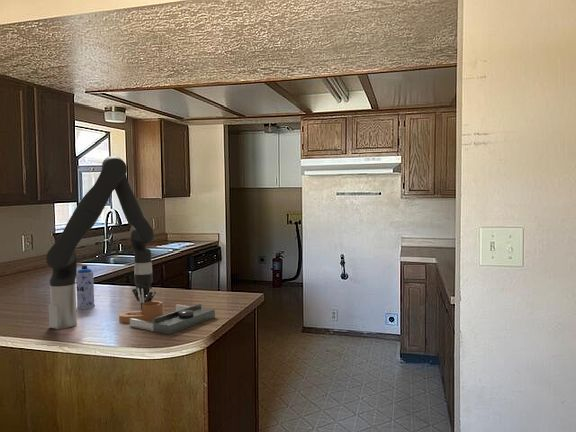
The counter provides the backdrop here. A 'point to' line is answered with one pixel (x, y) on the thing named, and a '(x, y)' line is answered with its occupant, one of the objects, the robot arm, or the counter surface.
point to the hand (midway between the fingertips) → (144, 311)
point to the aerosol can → (85, 288)
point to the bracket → (143, 312)
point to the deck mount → (176, 319)
